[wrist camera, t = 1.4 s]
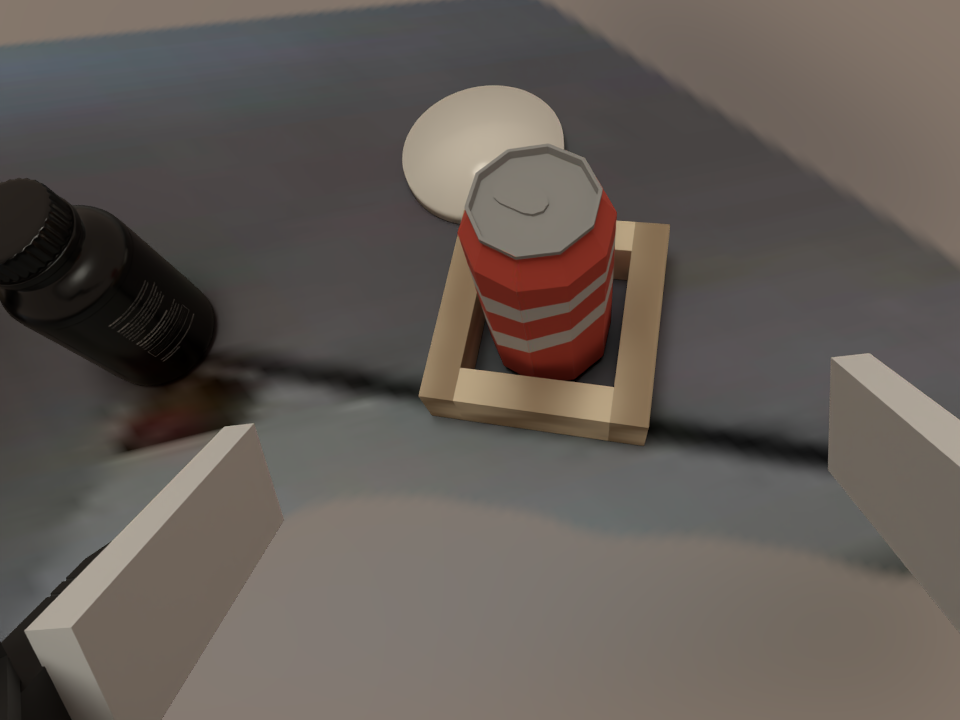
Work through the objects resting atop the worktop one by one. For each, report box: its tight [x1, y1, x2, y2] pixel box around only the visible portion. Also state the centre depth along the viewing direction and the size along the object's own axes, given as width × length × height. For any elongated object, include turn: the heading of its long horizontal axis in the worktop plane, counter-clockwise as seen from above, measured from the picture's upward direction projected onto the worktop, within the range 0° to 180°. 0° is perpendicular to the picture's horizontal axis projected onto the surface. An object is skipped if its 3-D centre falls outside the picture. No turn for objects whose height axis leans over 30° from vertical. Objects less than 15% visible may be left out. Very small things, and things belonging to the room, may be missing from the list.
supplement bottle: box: [0, 178, 214, 386], centre depth 34 cm, size 7×7×12 cm
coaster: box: [402, 85, 564, 224], centre depth 41 cm, size 10×10×1 cm
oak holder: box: [419, 210, 670, 446], centre depth 34 cm, size 11×11×3 cm
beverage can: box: [457, 143, 617, 381], centre depth 30 cm, size 6×6×12 cm
